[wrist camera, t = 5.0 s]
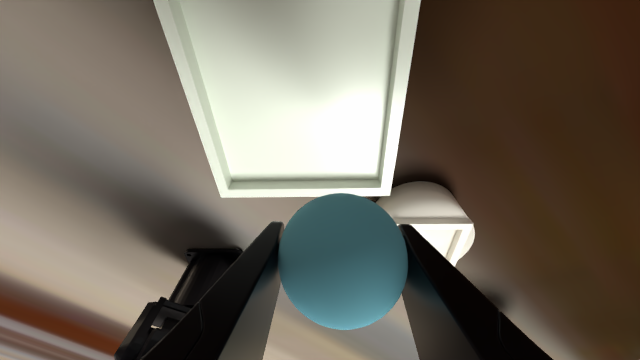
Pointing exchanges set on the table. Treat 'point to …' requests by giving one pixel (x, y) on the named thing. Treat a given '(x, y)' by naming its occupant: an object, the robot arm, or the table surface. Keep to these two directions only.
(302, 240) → the ball
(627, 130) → the table surface
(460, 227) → the cup
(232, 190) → the tray
